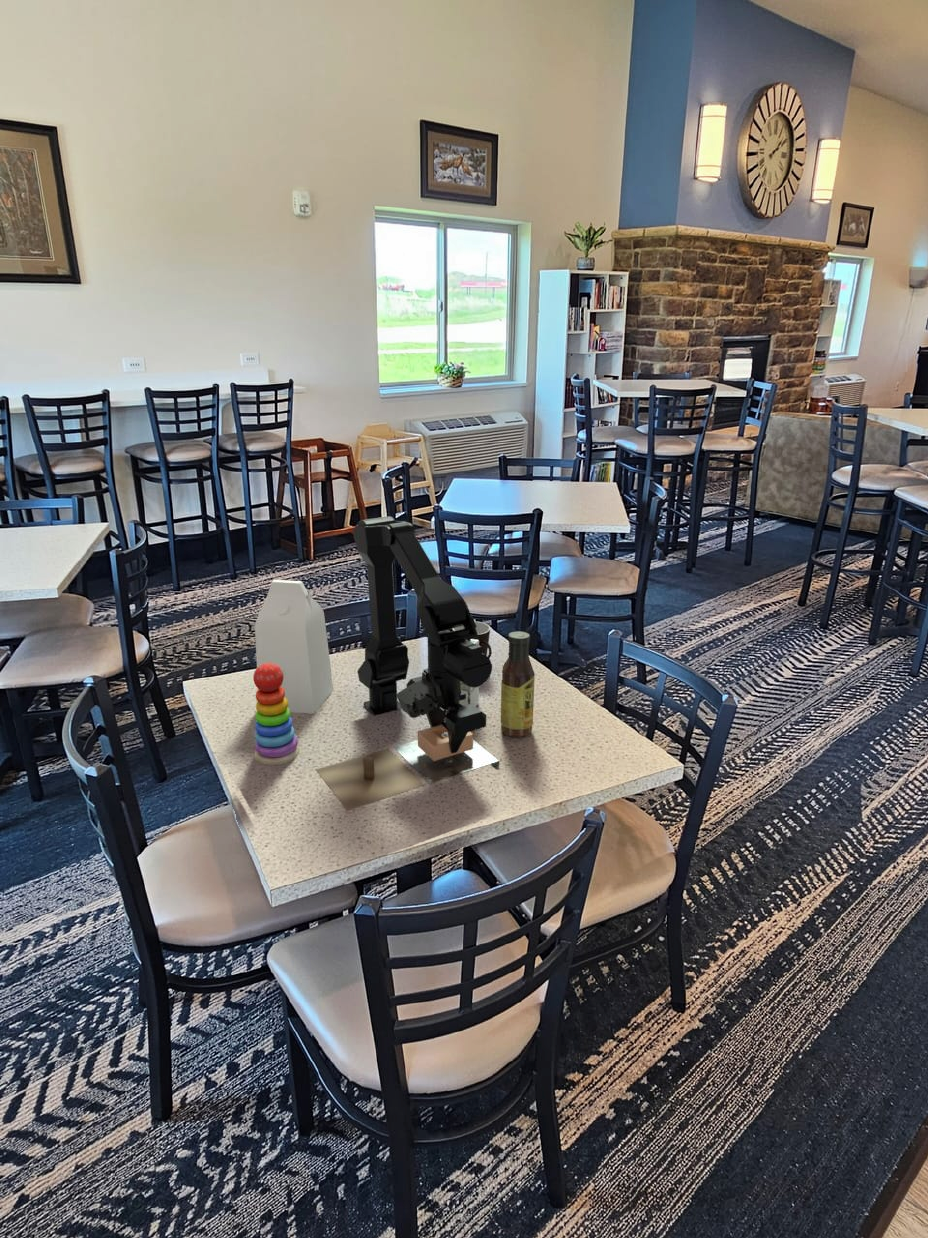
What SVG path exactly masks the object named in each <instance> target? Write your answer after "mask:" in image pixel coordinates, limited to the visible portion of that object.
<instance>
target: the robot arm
mask: <svg viewBox="0 0 928 1238" xmlns="http://www.w3.org/2000/svg"><path fill="white" fill-rule="evenodd" d="M353 540H354V542H355V546H356V550H357V551H356V552H357V553H358V554H359V556H360V557H361V558H362V559H363V561H364V562H365V564H366V570H367V584H368V597H369V598H368V599H369V609H370V611H369V613H370V614H369V615H370V625H371V637H370V638H369V641H368V642H367V645H366V646H365V649H364V661H363V662H362V664H361V665H360V667H359V668H358V669H357V676H358V681H359V682H360V683H362V685H364V686H365V687H366V688H368V696H369V697H368V699H369V700H367V701H364V702H363V706H364V707H365V708H366V709H367V710H368V711H369V712H371V714H372V715H373V716H379V715H383V714H386V713H390V712H395V711H397V710H401V709H402V711H403V712H405V713H406V714H407V715H408V716H409V718H411V719H415V718H418V717H420V716H426V718H427V721H428V724H429V726H430V727H429V728H431V727H435V726H438V725H442V726H443V727H445V728H446V729H447V730H448V738H449V745H450V750H451V753H456V752H457V751H458V749H459V747H460V746H461V744H462V742H463V740H464V738H465V737H466V735H467V733H468V732H473V731H477V730H480V729H483V728H486V727H487V714H485V712H483V711H482V710H480V709H479V708H478V707H477V706H476V707H475V706H474V705H473V704H469V705H466V706H462V705H461V704H460V703H459V701H460V700H464V699H466V694H465V693H464V692H463V691H461V681H462V682H463V683H465V684H466V685H468V686H469V687H480V686H483V685H484V684H485V683H486V682H487V681H488V680H489V678H490V677H491V674H492V672H493V664H492V662H491V659H490V658H489V657H488V655H487V656H486V655H485V654H483V653H482V647H481V646H479V645H477V644H474V643H472V642H470V639H474V638H477V637H478V634H477V631H476V627H477V626H476V624H475V622H474V621H475V620H474V618H473V616H472V614H471V612H470V608H469V606H468V604H467V602H466V601H465V599H464V598H463V596H462V595H461V594H460V593H459V591H458V590H457V588H456V587H455V586H453V585H451V584H450V583H448V582H446V581H443V578H441V576H440V575H439V573H438V572H437V570H436V568H435V567H434V565H433V563H432V561H431V560H430V558H429V557H428V555H427V553H426V552H425V550H424V548H423V546H422V545H421V543H420V541H419V540H418V538H417V536H416V530H415V527H414V526H413V524H412V523H411V522H407V521H405V520H404V521H403V520H395V518H394V517H392V516H389V515H388V516H382V517H375V518H367V519H361V520H359V521H357V523H356V525H355V526H354V529H353ZM395 559H396V560H397V563H398V564H399V566H400V568H401V569H402V571H403V573H404V574H405V576H406V579H407V580H408V581H409V583H410V585H411V587H412V589H413V591H414V592H415V595H416V597H417V603H416V612H417V614H418V616H419V620H420V622H421V623H420V624H421V625H422V626H423V628H424V629H423V630H422V632H421V634H422V636H424V637H426V638H427V668H424V669H423V671H422V672H421V676H417V677H414V678H413V677H412V678H410V679H409V681H408V682H407V683H406V687H405V688H403V689H402V690H400V691H399V692H398V685H397V684H398V682H399V681H402V680H407V677H408V676H407V674H408V670H409V665H410V659H409V656H408V653H409V651H408V650H409V648H408V647H407V645H406V644H404V643H403V642H402V641H401V639H400V638H399V636H398V631H397V619H396V617H397V614H396V602H395V601H396V599H395V586H394V569H393V568H394V567H393V564H394V562H395ZM461 626H464V628H465V629H461V630H457V631H453V630H452V629H453V628H457V627H461ZM450 630H452V631H450Z"/></svg>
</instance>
